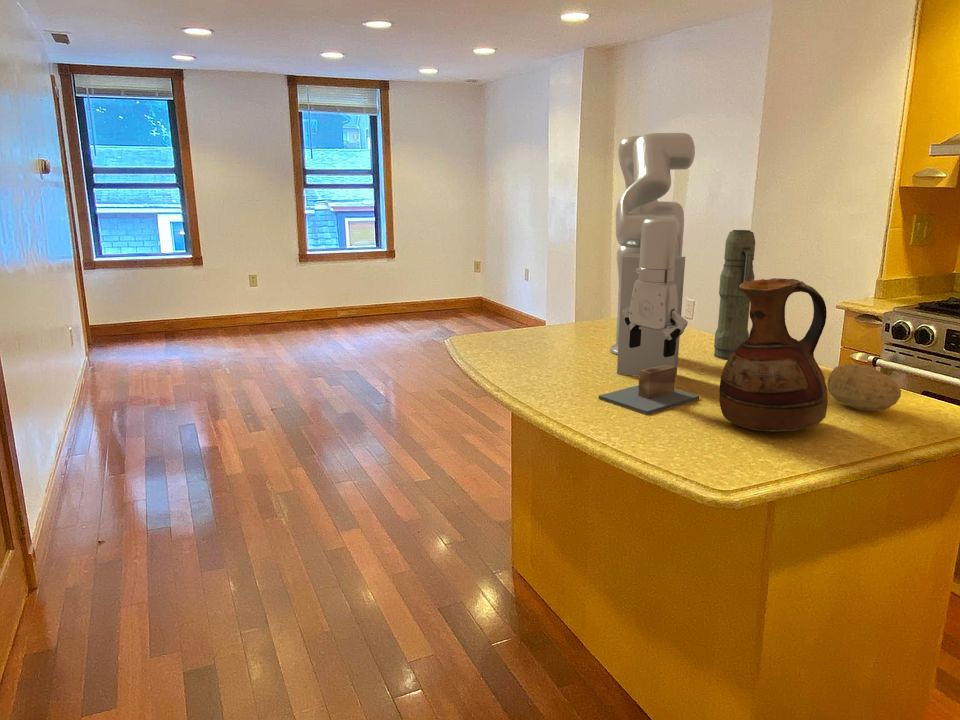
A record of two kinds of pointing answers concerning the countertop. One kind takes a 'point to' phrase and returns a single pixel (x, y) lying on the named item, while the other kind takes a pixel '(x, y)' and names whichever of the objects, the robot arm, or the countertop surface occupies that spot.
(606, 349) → the countertop surface
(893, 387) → the potato
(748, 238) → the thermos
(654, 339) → the thin beige panel
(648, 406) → the mat
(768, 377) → the ceramic pitcher
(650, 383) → the brown angular block
